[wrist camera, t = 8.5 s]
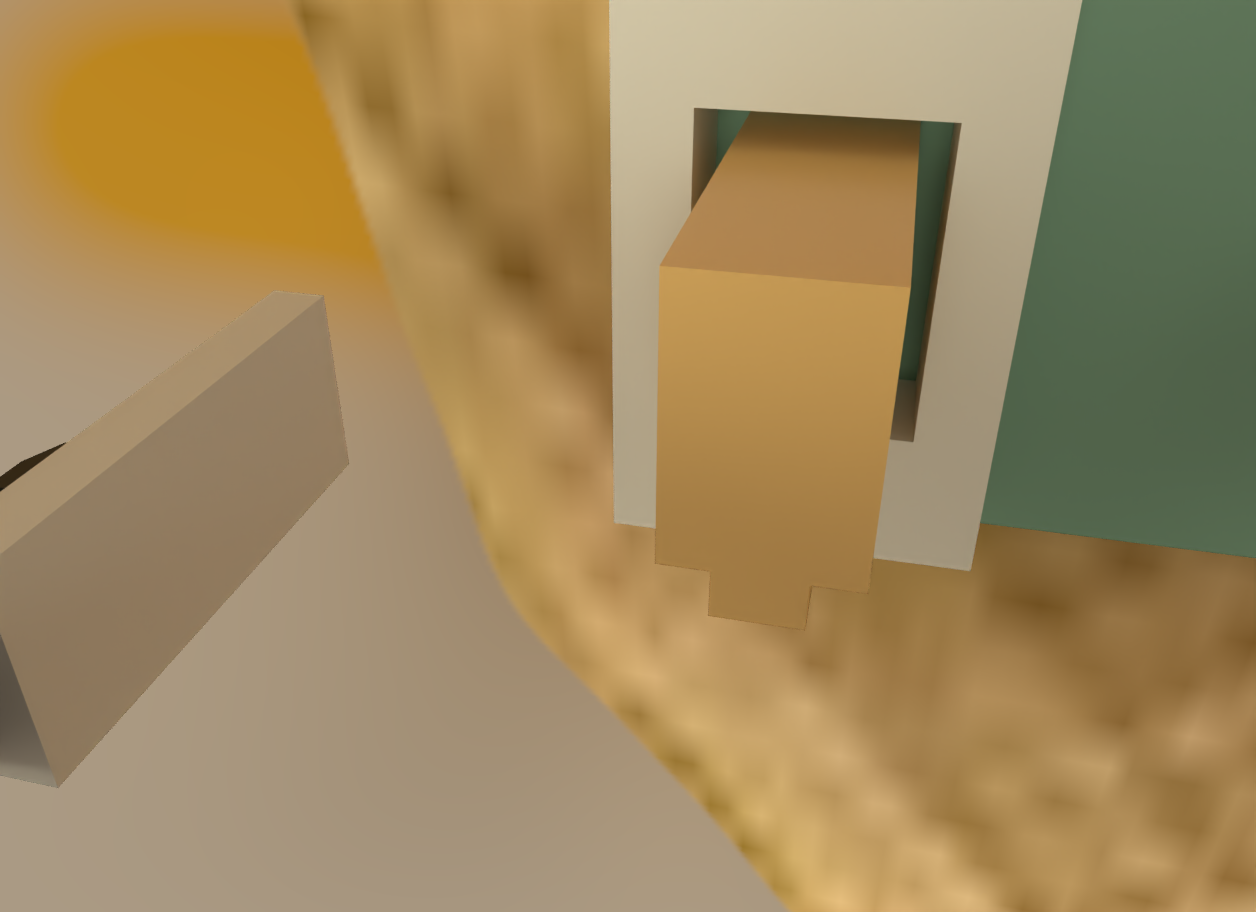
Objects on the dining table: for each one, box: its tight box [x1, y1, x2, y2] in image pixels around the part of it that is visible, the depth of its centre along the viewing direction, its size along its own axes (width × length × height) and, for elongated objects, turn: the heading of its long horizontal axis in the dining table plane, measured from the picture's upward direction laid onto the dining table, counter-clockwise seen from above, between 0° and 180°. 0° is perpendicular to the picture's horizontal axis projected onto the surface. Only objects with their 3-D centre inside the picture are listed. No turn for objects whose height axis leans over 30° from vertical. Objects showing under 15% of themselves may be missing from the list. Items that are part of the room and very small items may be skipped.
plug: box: [655, 111, 921, 630], centre depth 18 cm, size 3×5×8 cm, turn 0°
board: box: [609, 0, 1256, 571], centre depth 19 cm, size 21×12×4 cm, turn 89°
